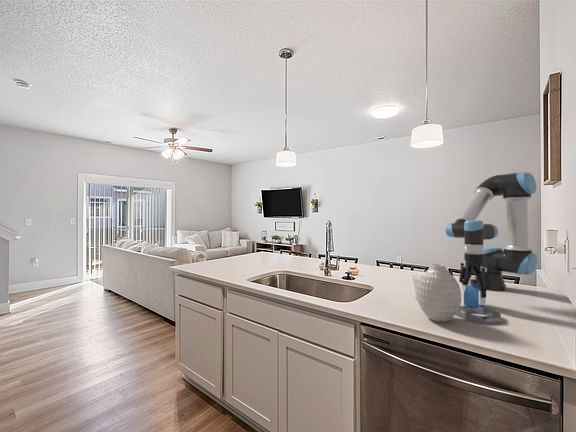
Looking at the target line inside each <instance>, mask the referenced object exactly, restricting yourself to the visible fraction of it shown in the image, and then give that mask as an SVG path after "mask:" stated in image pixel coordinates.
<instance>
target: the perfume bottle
mask: <svg viewBox="0 0 576 432" xmlns="http://www.w3.org/2000/svg"><path fill="white" fill-rule="evenodd" d="M469 285H470V286H468V287H467V288H466V289H465V291H464V297H463V306H469V305H470V306H476V307H483V308H484V306H485V305H479V289H480V287H478V281H477V280H476V278H470V281H469Z"/></svg>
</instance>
